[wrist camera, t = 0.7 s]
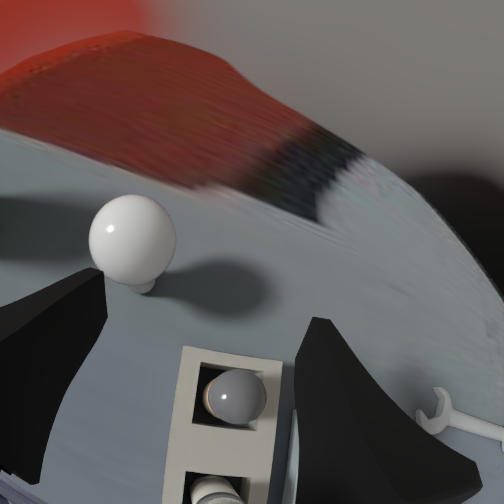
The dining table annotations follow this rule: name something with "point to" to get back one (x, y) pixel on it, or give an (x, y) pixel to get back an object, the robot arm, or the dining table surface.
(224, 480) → the cylinder
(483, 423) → the wrench
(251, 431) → the fuse block
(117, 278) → the lightbulb
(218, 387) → the fuse
